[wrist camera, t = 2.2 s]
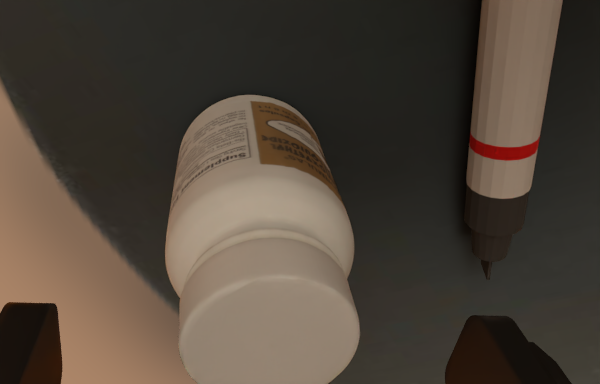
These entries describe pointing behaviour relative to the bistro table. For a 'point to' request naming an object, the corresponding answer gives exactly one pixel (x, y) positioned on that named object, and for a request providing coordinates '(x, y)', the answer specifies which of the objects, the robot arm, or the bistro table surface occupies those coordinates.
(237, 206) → the pill bottle
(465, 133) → the bistro table surface
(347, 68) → the bistro table surface
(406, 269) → the bistro table surface
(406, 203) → the bistro table surface
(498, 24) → the marker
